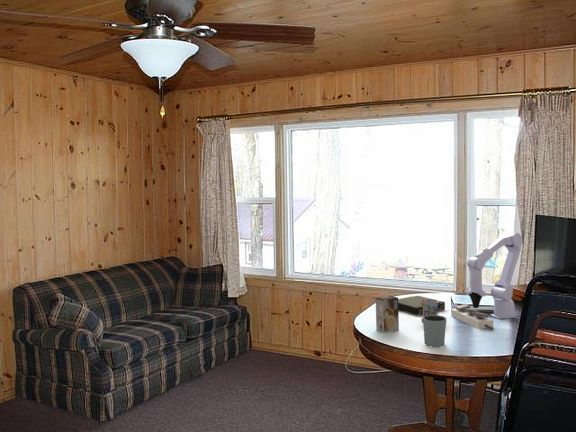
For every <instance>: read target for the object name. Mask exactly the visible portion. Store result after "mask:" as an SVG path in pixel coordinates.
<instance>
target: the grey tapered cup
mask: <svg viewBox="0 0 576 432" xmlns="http://www.w3.org/2000/svg"><path fill="white" fill-rule="evenodd" d="M447 321H448V320H447V317H445V316H443V315H439V314H437V315H426V316H424V317H423V321H422V322H423V340H424V341H423V342H424V345H425V344H426V345H428V346H427V347H429V346H432V347H431V348H442V347H444V346H445V342H446V341H445V340H446V330H447V329H446V327H447ZM426 345H425V346H426ZM441 346H442V347H441Z"/></svg>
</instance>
